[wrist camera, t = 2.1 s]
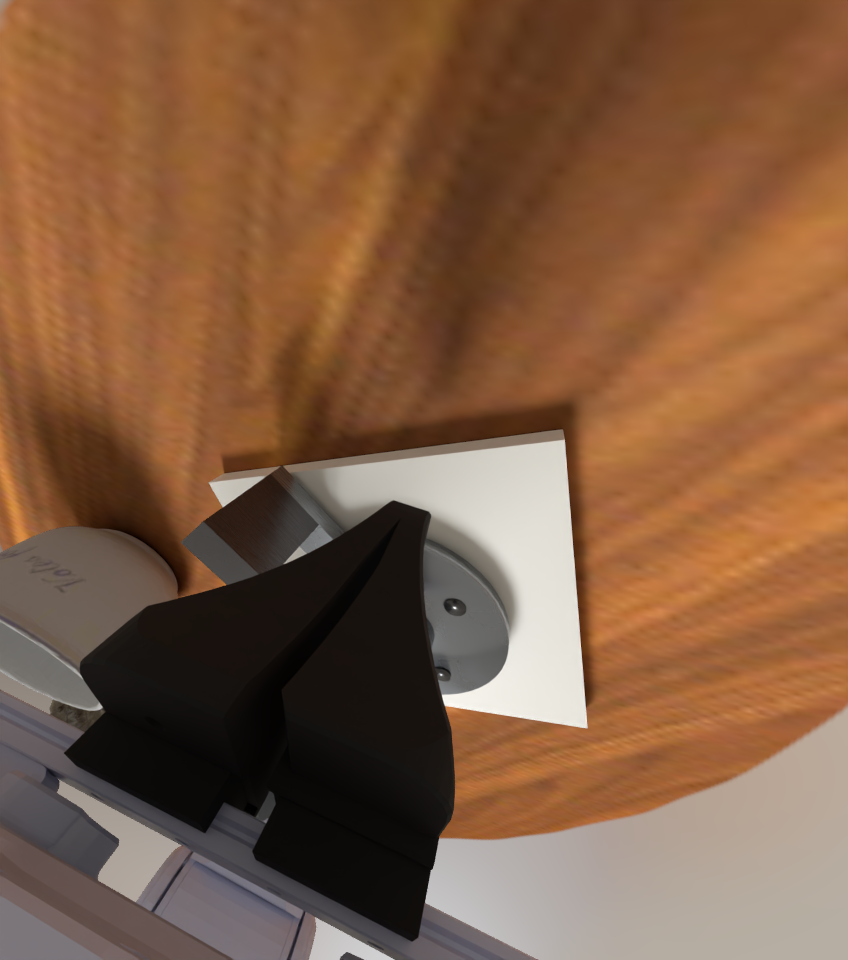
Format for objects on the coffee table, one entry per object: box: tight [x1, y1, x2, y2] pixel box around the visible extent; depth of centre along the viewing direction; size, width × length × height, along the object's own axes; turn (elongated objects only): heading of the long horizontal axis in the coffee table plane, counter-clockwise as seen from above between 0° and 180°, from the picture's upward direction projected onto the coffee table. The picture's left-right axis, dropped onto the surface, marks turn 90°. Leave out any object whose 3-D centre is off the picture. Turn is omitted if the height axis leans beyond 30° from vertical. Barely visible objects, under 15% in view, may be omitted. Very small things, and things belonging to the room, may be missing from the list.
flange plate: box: [181, 465, 510, 695], centre depth 16 cm, size 15×11×4 cm
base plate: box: [209, 429, 587, 728], centre depth 17 cm, size 17×17×4 cm
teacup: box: [0, 526, 178, 711], centre depth 23 cm, size 14×11×8 cm
